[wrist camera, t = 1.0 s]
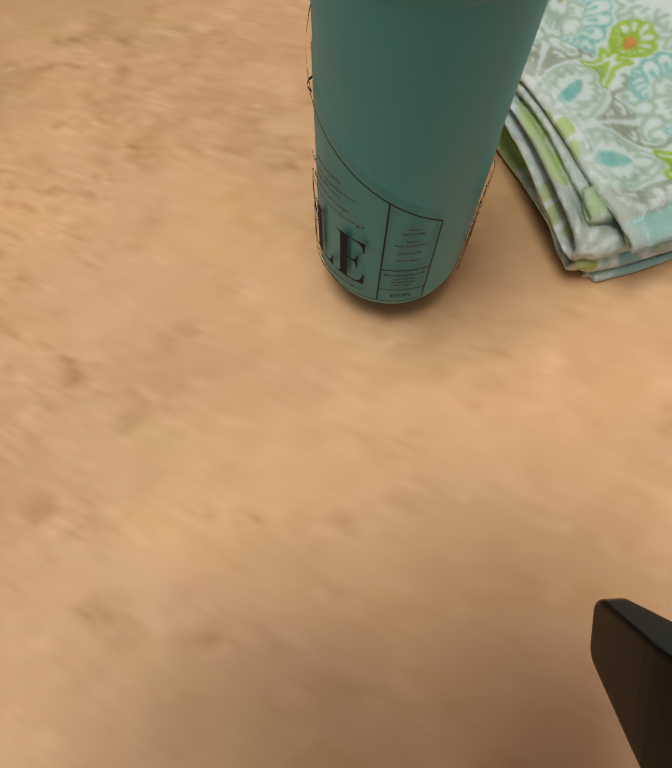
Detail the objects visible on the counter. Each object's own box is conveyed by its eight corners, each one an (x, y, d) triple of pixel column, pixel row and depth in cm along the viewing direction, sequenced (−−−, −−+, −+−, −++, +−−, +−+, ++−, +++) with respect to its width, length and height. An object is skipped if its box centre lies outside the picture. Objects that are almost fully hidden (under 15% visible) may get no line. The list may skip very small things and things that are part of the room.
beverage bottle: (480, 247, 28) (789, -489, 9) (406, 353, 26) (604, -302, 7) (365, 183, 29) (426, -580, 10) (286, 280, 27) (184, -441, 8)
